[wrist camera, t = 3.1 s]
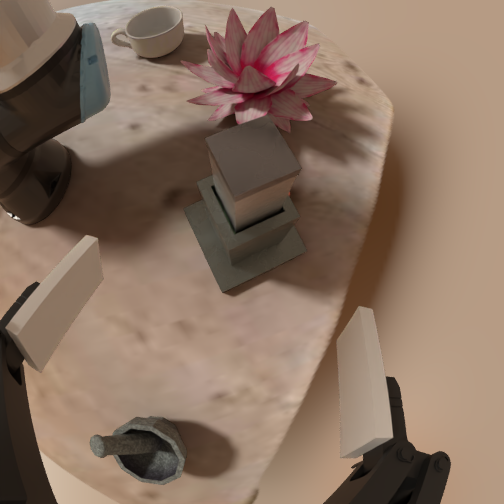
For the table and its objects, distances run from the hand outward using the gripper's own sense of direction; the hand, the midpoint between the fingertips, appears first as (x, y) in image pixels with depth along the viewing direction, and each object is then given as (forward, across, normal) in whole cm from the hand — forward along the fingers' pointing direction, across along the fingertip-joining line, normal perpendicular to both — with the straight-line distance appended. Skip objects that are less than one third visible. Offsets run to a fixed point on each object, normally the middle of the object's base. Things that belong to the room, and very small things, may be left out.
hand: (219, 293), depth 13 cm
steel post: (+22, -1, -9) cm, 24 cm away
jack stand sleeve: (+23, 0, -11) cm, 25 cm away
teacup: (+46, -28, +12) cm, 55 cm away
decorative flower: (+38, -4, +4) cm, 39 cm away
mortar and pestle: (+2, -6, -33) cm, 33 cm away
